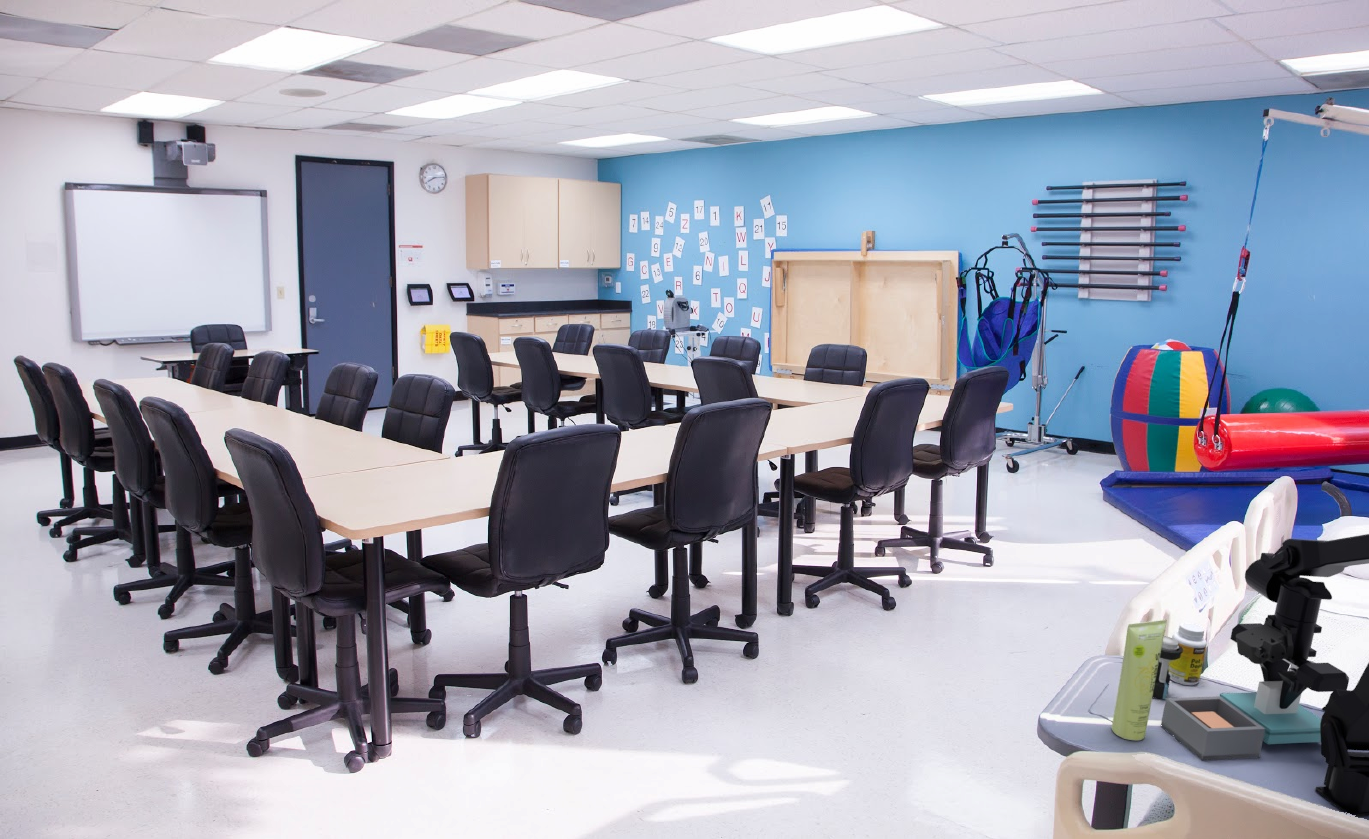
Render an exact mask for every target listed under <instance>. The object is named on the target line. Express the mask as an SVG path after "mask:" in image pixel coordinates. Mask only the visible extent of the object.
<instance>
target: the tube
mask: <svg viewBox="0 0 1369 839" xmlns="http://www.w3.org/2000/svg"><path fill="white" fill-rule="evenodd" d="M1166 628H1167V618H1165V619H1160V620H1152V621H1151V620H1150V621H1142V622H1135V623H1128V624H1127V629H1126V635H1125V644H1124V651H1123V658H1122V664H1121V669H1120V670H1121V671H1120V675H1119V684H1118V689H1117V694H1116V700H1115V706H1114V714H1113V717H1112V718H1113V719H1112V724H1111V730H1112V732H1113V733H1114V734H1115V735H1117V736H1118V737H1120V738H1122V739H1125V740H1127V741H1141V740H1144V738H1145V737H1146V732H1147V728H1148V727H1147V726H1148V722H1149V717H1150V711H1151V706H1152V700H1153V698H1152V696H1153V690H1154V685H1155V680H1156V675H1157V669H1158V664H1159V659H1160V653H1161V648H1162V643H1163V638H1164V636H1165V633H1166Z"/></svg>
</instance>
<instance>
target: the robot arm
mask: <svg viewBox="0 0 1369 839" xmlns="http://www.w3.org/2000/svg"><path fill="white" fill-rule="evenodd" d="M1281 545H1282V546H1280V547H1279V549H1277V550H1276V552H1274V553H1273V552H1261V554H1260V558H1259V559H1256V560H1255V561H1253V562H1252V563H1250V565H1248V568H1246V570H1245V573H1244V578H1245V579H1244V580H1245V582H1246V584H1247V585H1248V587H1249V588H1250V589H1252V590H1254V591H1255V592H1258V593H1259V594H1261V596H1263V597H1264V598H1266V599H1268V600H1269V601H1271V602H1273V603H1276V606H1275V610H1274V614H1267V617H1266V618H1265V619H1264V623H1263V624H1262V623H1261V622H1259V623H1237V624H1236V625H1235V626H1234V627H1233V628H1232V630H1231V634H1230V638H1229V639H1230V640H1231V641H1233V642H1235V643H1236V646H1237V654H1239V655H1240V656H1243V657H1245V658H1246V659H1248V660H1249V661H1250V662H1251V663H1252V664H1255V665H1259V666H1260V670H1261V673H1262V677H1263V681H1283V683H1282V689H1281V695H1280V708H1281V709H1287V708H1288V707H1289V706H1290V705H1291V704H1292V703H1293V702H1294V701H1295V699H1296V698H1297V697H1298V696H1299V695H1300V694H1301V695H1302V693H1304V691H1305V690H1307V689H1309V690H1310V691H1313V692H1317V693H1328V692H1329V693H1330V692H1331V693H1330V694H1329V699H1328V701H1327V703H1326V704H1325V706H1323V707H1322V708H1321V711H1323V712H1324V713H1323V714H1322V716H1321V723H1320V734H1321V742H1320V754H1321V756H1323V758H1324V759H1325V763H1326V765H1327V768H1326V772H1325V777H1324V780H1323V786H1316V787H1315V788H1314V791H1315V792H1316V793H1317V794H1319V795H1320V796H1321V797H1322V798H1324V799H1325V800H1326V801H1328V802H1329V803H1331V804H1332V805H1333V806H1334V807H1336V808H1337V809H1338V810H1340V811H1341V812H1343V813H1344V812H1347V813H1350V814H1352V815H1356V816H1355V817H1366V816H1367V817H1368V816H1369V662H1368V663H1367V665H1366V666H1365V669H1364V670H1363V672H1362V673H1361V676H1360V678H1359V680H1358V682H1357V683H1356V685H1355V686H1354V688H1353V689H1351V690H1350V689H1349V690H1348V686H1349V682H1350V677H1349V675H1348V674H1347V673H1346V672H1345V671H1343V670H1341V669H1340V668H1338V667H1336V666H1335V665H1332V664H1331V663H1329V662H1314V661H1312V660H1308V659H1309V658H1315V657H1317V650H1315V649H1314V648H1312V644H1313V640H1314V635H1315V634H1322V630H1323V627H1322V626H1321V625H1320V624H1317V622H1318V617H1319V613H1320V608H1321V603H1322V600H1326V601H1328V600H1330V601H1331V600H1332V599H1333V596H1332V593H1331V591H1330V590H1329V589H1328V587H1327V586H1326V584H1325V582H1324V581H1313V580H1311V579H1309V578H1308V577H1318V578H1330V577H1333V576H1335V575H1338V574H1341V573H1343V572H1344V571H1345V569H1346V568H1348V567H1350V566H1360V565H1366V564H1367V565H1368V564H1369V533H1366V534H1361V535H1354V536H1350V537H1343V538H1336V539H1330V540H1325V539H1324V540H1322V539H1321V540H1320V539H1304V538H1303V539H1302V538H1300V539H1299V538H1287V539H1285V540H1284V541H1282V543H1281ZM1361 751H1362V752H1361ZM1365 751H1366V752H1365Z"/></svg>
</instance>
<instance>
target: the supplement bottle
mask: <svg viewBox="0 0 1369 839" xmlns="http://www.w3.org/2000/svg"><path fill="white" fill-rule="evenodd" d="M1204 633H1205V628H1204V627H1203V626H1201V625H1199V624H1196V623H1193V622H1181V623H1179V626H1178V630H1177V631H1176V632H1173V634H1172V636H1171V638H1173V639H1175V640H1176V641H1178V645H1180V646H1181V647H1182V648H1183V652H1182V653H1181V656H1180V658H1179V659H1176V660H1173V661H1170V662H1169V667H1168V670H1169V675H1170V681H1173V682H1174V683H1177V684H1180V685H1184V686H1195V685H1197V684H1198V683H1199V682H1200V680H1201V679H1200V678H1201V674H1202V669H1203V664H1204V660H1205V655H1206V651H1207V645H1208V643H1207V640H1206V639H1205V637H1204V636H1205V634H1204Z"/></svg>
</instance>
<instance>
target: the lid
mask: <svg viewBox="0 0 1369 839" xmlns="http://www.w3.org/2000/svg"><path fill="white" fill-rule="evenodd" d="M1282 683H1283V681H1264V680H1263V681H1262V680H1261V681H1259V682H1258V685H1257V690H1256V692H1254V691H1253V692H1227V693H1225V692H1224V693H1219V696H1221V697H1222V698H1223V699H1225V700H1226V701H1228V702H1229V703H1230V704H1232V705H1233V706H1234V707H1236V708H1237V709H1239V710H1240V711H1241V712H1243V713H1244V714H1246V715H1247V716H1248V717H1250V718H1251V719H1252V720H1254V721H1255V722H1257V723H1258V724H1259V725H1261V726H1262V727H1264V728H1265V733H1264V738H1263V742H1264V743H1265V744H1267V745H1277V744H1278V745H1279V744H1298V743H1299V744H1300V743H1301V744H1303V743H1321V734H1320V723H1321V719H1322V717H1319V716H1317V715H1316V714H1315V713H1313V712H1311V711H1310V710H1308V709H1307V708H1306V707H1304V706H1303V705H1301V704H1300V702H1301V697H1302V693H1301V694H1300V695H1299V696H1298V697H1297V698H1296V699H1295V701H1294V702H1293V703H1292V704H1291V705H1290V706H1289V707H1288V708H1287V709H1281V708H1280V695H1281V689H1282Z"/></svg>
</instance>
